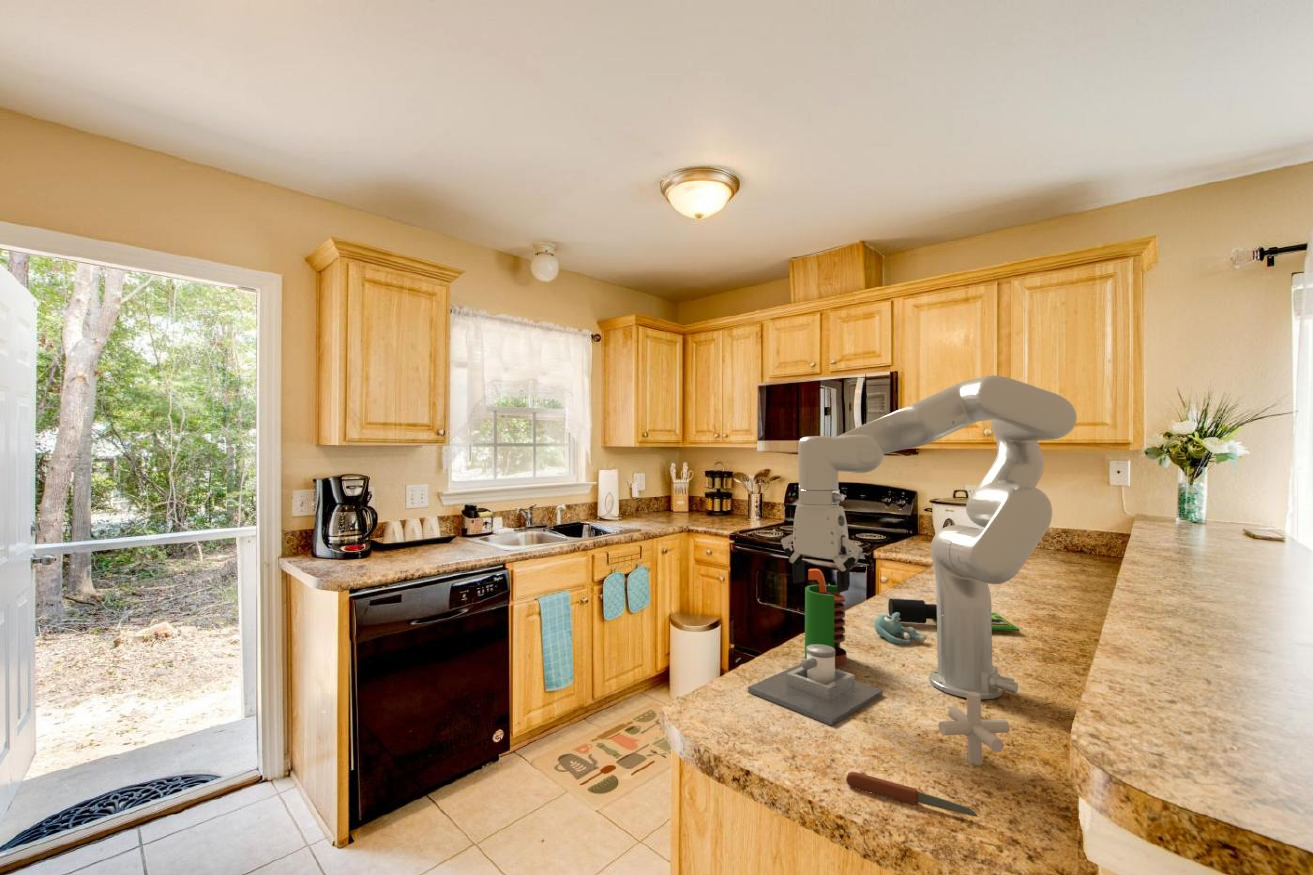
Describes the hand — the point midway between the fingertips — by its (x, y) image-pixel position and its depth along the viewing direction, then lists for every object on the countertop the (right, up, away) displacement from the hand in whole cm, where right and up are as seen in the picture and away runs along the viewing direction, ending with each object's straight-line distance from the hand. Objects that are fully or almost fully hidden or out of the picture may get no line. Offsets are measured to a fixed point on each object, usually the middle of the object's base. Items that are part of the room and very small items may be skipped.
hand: (820, 586), depth 108 cm
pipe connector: (+15, -19, -26) cm, 36 cm away
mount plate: (-2, -20, -2) cm, 20 cm away
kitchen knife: (+1, -19, -35) cm, 40 cm away
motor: (+6, -21, +15) cm, 26 cm away
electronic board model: (+47, -22, +42) cm, 67 cm away
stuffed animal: (+28, -22, +29) cm, 46 cm away
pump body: (-1, -19, -1) cm, 19 cm away
